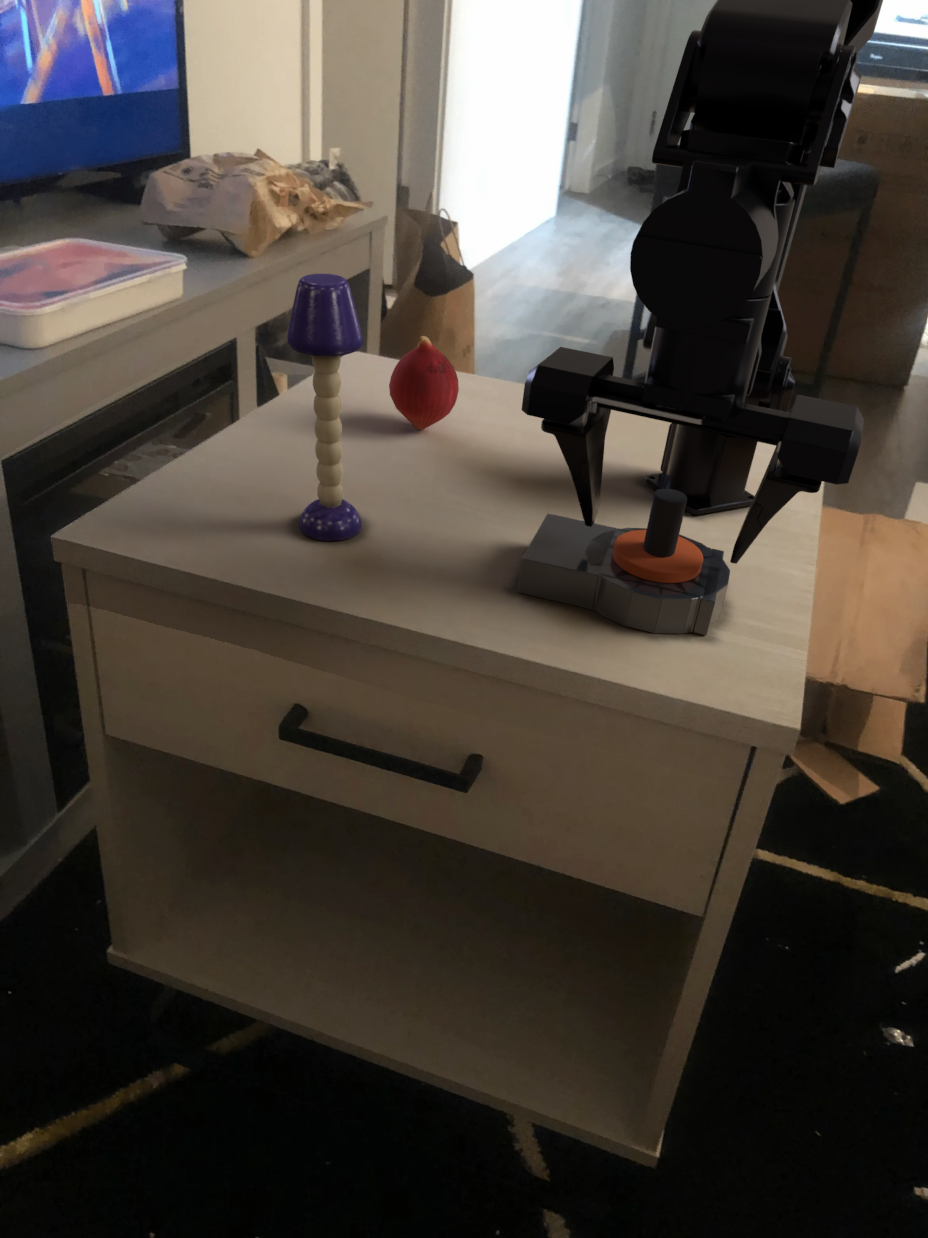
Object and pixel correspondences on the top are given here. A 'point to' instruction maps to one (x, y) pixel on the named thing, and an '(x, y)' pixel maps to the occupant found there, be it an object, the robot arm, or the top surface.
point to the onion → (424, 385)
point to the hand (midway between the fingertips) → (660, 541)
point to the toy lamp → (326, 393)
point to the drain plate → (619, 579)
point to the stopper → (660, 544)
